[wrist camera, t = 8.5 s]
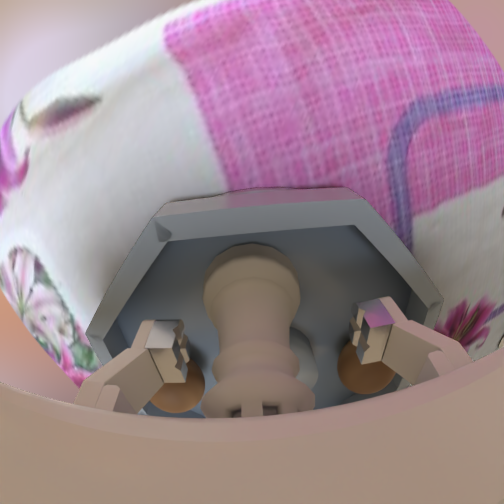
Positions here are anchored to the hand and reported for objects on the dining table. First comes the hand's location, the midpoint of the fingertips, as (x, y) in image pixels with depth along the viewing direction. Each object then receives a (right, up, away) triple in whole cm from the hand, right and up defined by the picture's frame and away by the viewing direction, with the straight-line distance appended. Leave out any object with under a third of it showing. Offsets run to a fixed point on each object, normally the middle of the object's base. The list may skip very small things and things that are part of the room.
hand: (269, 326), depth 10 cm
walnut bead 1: (-5, -4, +6) cm, 9 cm away
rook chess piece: (-1, +1, +4) cm, 4 cm away
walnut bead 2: (+6, -3, +6) cm, 9 cm away
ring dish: (0, -3, +6) cm, 7 cm away
